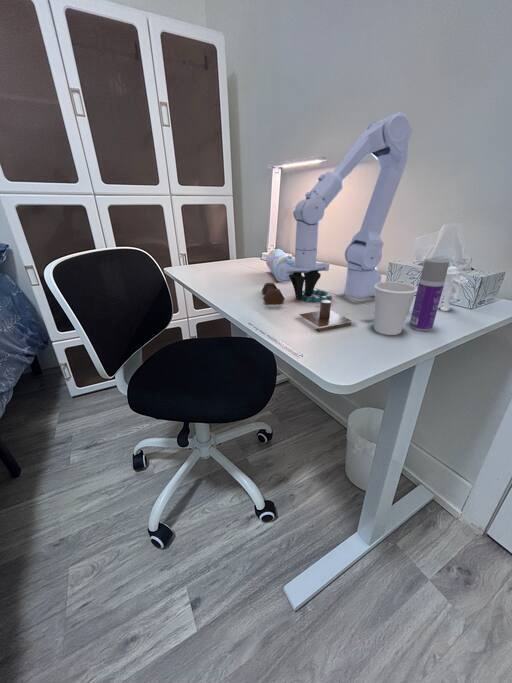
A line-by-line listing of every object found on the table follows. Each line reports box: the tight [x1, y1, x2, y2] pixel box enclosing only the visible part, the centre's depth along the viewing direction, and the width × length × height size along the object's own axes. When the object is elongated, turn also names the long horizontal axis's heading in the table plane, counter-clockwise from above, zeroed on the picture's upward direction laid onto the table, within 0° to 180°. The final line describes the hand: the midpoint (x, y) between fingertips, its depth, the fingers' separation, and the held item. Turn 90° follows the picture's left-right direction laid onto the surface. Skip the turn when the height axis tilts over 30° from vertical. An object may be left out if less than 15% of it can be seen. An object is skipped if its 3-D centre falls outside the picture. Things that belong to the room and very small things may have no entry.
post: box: [298, 300, 352, 333], centre depth 69 cm, size 9×9×5 cm
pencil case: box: [265, 248, 295, 283], centre depth 111 cm, size 21×9×10 cm, turn 7°
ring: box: [300, 288, 333, 304], centre depth 85 cm, size 10×10×2 cm
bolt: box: [261, 282, 285, 306], centre depth 85 cm, size 6×5×15 cm
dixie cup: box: [373, 281, 418, 336], centre depth 63 cm, size 8×8×10 cm
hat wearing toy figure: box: [438, 263, 469, 312], centre depth 76 cm, size 9×4×12 cm, turn 20°
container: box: [408, 258, 450, 332], centre depth 63 cm, size 5×5×15 cm
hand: (303, 298), depth 83 cm, fingers closed on ring, 2 cm apart
